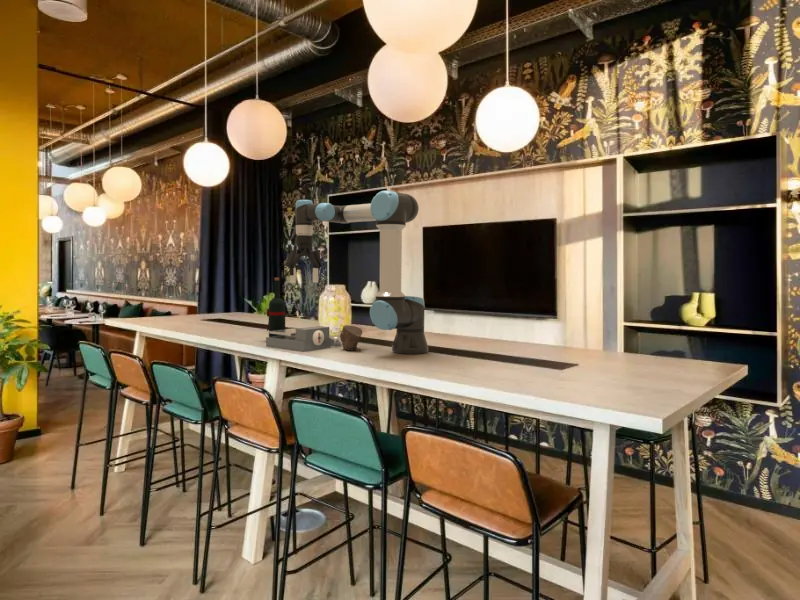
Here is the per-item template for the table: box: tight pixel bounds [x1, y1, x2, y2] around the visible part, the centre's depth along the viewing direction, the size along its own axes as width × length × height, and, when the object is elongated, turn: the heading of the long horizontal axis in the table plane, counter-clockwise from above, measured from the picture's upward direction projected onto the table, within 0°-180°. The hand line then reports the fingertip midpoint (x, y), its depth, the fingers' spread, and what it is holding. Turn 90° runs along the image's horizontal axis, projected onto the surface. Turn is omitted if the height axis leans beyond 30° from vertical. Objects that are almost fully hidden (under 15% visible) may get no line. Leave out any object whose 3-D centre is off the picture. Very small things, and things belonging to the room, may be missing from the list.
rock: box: [339, 324, 363, 352], centre depth 229 cm, size 12×10×10 cm
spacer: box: [330, 335, 342, 347], centre depth 242 cm, size 5×5×4 cm
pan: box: [268, 327, 297, 336], centre depth 240 cm, size 14×14×2 cm
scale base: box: [265, 325, 332, 352], centre depth 237 cm, size 25×16×9 cm, turn 53°
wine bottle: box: [266, 277, 286, 337], centre depth 253 cm, size 8×10×30 cm
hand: (304, 282), depth 243 cm, fingers open, 13 cm apart
